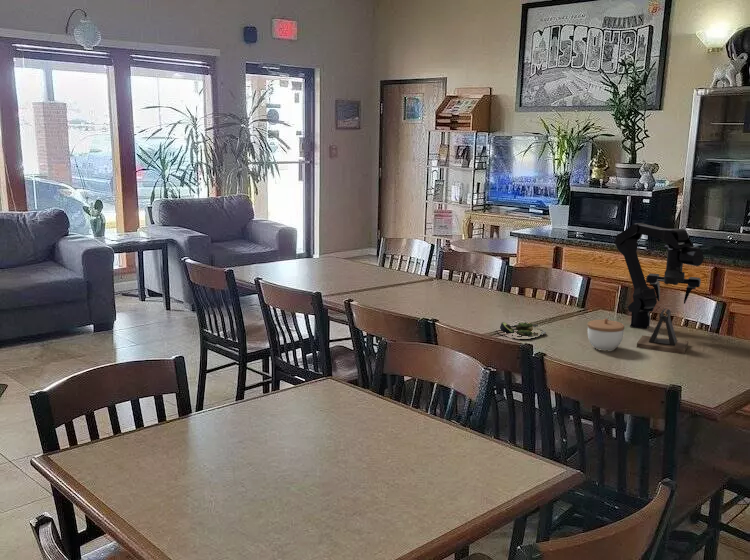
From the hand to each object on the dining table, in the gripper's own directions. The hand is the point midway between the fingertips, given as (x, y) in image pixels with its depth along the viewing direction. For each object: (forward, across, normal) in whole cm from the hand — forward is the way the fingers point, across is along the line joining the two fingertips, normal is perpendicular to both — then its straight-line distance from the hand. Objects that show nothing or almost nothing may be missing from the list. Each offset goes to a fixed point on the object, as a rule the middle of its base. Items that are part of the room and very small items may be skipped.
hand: (671, 302), depth 270 cm
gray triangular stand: (+12, 0, -17) cm, 21 cm away
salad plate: (+14, -51, -26) cm, 59 cm away
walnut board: (+13, 0, -17) cm, 21 cm away
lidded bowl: (+13, -18, -30) cm, 37 cm away
